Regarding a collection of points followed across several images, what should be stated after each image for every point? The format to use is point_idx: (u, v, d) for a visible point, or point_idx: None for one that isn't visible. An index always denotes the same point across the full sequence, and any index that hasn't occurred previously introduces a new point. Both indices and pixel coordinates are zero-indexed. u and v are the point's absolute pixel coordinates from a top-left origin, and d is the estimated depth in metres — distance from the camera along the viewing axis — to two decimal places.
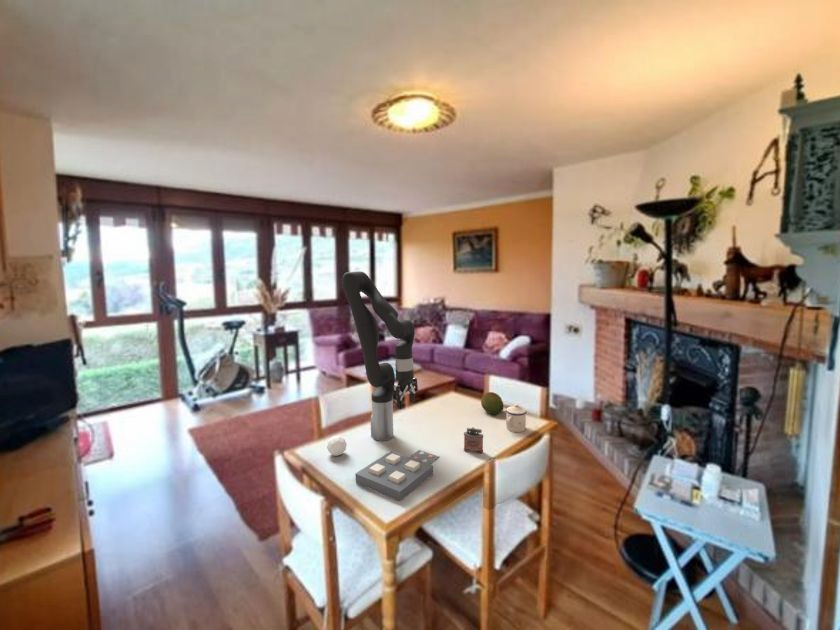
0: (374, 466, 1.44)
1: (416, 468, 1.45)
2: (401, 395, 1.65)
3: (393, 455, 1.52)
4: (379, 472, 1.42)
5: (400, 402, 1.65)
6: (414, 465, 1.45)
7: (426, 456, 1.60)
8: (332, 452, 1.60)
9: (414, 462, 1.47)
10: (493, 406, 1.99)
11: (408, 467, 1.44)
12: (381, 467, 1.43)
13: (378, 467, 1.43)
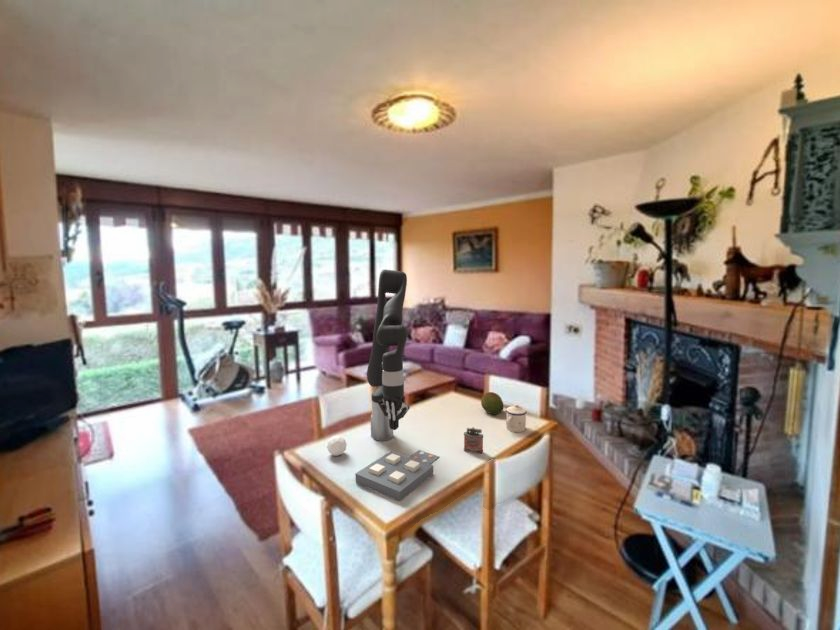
0: (374, 466, 1.44)
1: (416, 468, 1.45)
2: (399, 413, 1.42)
3: (393, 455, 1.52)
4: (379, 472, 1.42)
5: None
6: (414, 465, 1.45)
7: (426, 456, 1.60)
8: (332, 452, 1.60)
9: (414, 462, 1.47)
10: (493, 406, 1.99)
11: (408, 467, 1.44)
12: (381, 467, 1.43)
13: (378, 467, 1.43)
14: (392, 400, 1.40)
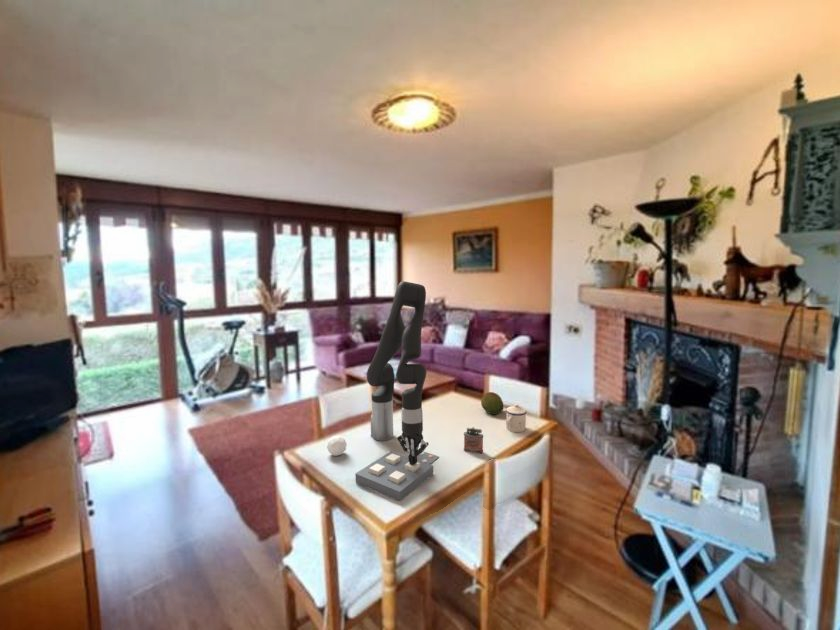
0: (374, 466, 1.44)
1: (416, 468, 1.45)
2: None
3: (393, 455, 1.52)
4: (379, 472, 1.42)
5: (415, 456, 1.45)
6: (414, 465, 1.45)
7: (426, 456, 1.60)
8: (332, 452, 1.60)
9: None
10: (493, 406, 1.99)
11: (408, 467, 1.44)
12: (381, 467, 1.43)
13: (378, 467, 1.43)
14: (411, 436, 1.43)
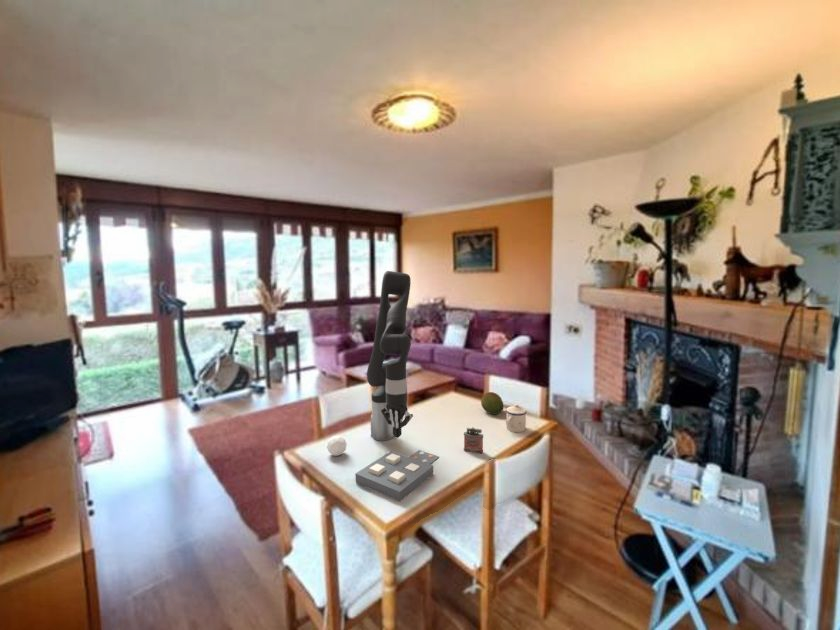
0: (374, 466, 1.44)
1: None
2: None
3: (393, 455, 1.52)
4: (379, 472, 1.42)
5: None
6: (414, 468, 1.45)
7: (426, 456, 1.60)
8: (332, 452, 1.60)
9: (414, 465, 1.47)
10: (493, 406, 1.99)
11: (408, 470, 1.44)
12: (381, 467, 1.43)
13: (378, 467, 1.43)
14: (395, 408, 1.40)
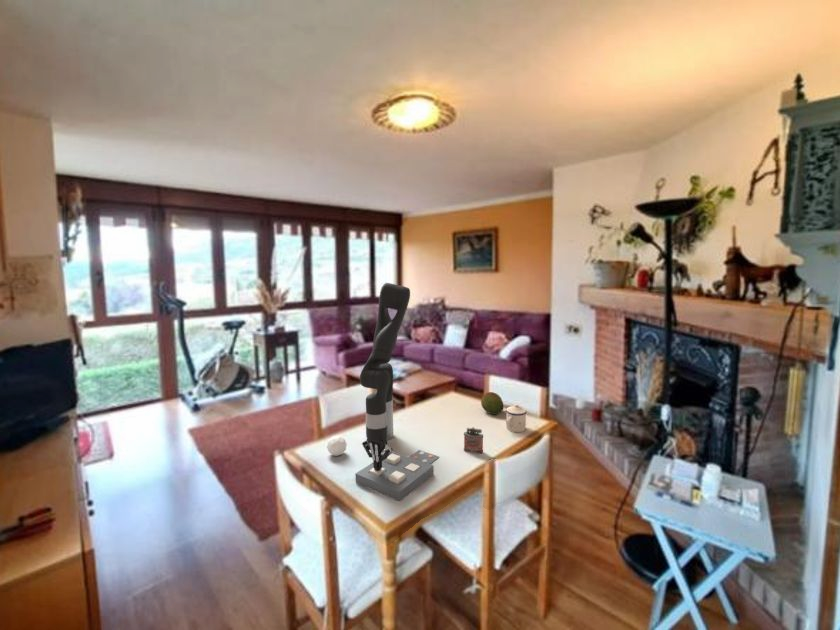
0: None
1: None
2: (382, 454, 1.43)
3: (393, 455, 1.52)
4: (379, 474, 1.42)
5: (380, 461, 1.43)
6: (414, 468, 1.45)
7: (426, 456, 1.60)
8: (332, 452, 1.60)
9: (414, 465, 1.47)
10: (493, 406, 1.99)
11: (408, 470, 1.44)
12: (381, 469, 1.44)
13: None
14: (376, 442, 1.41)
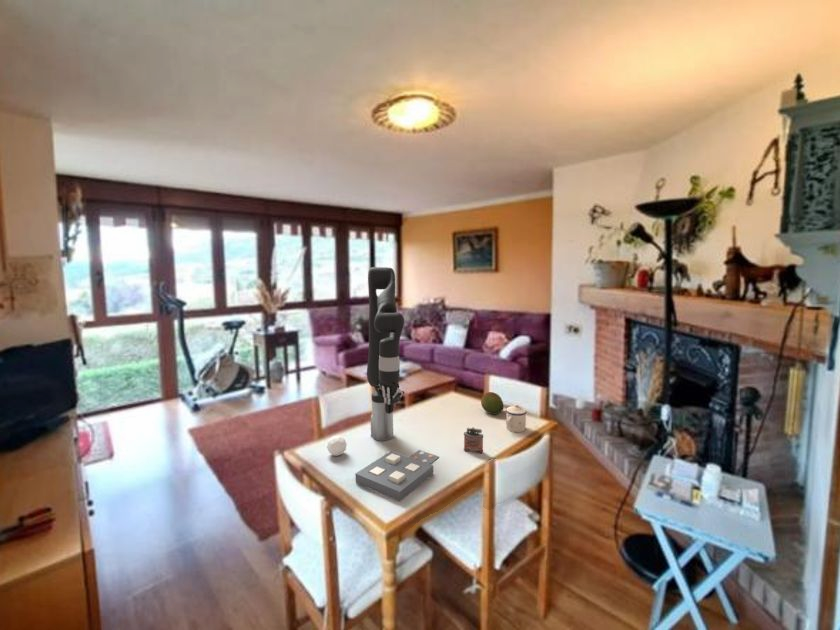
0: (374, 469, 1.44)
1: None
2: (394, 398, 1.47)
3: (393, 455, 1.52)
4: None
5: None
6: (414, 468, 1.45)
7: (426, 456, 1.60)
8: (332, 452, 1.60)
9: (414, 465, 1.47)
10: (493, 406, 1.99)
11: (408, 470, 1.44)
12: (381, 470, 1.44)
13: (378, 470, 1.44)
14: (388, 385, 1.45)
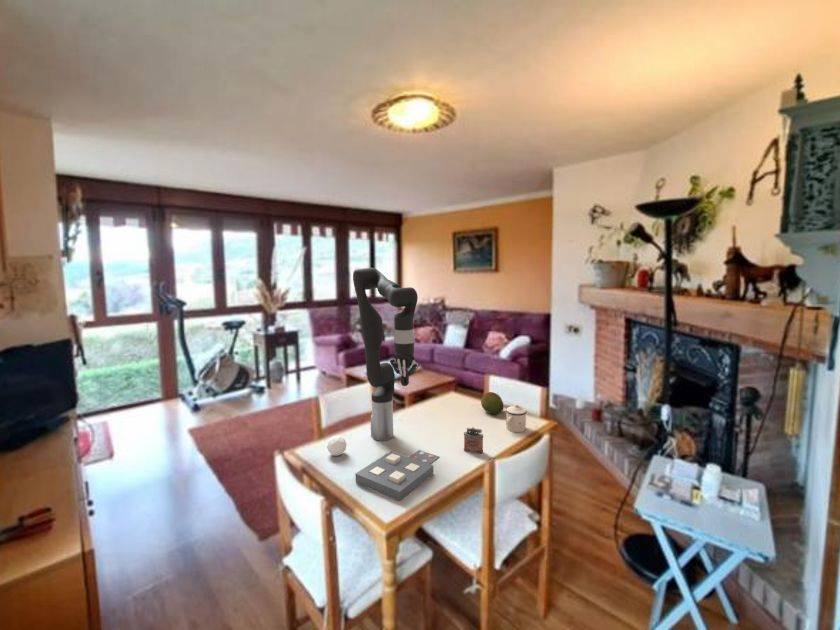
0: (374, 469, 1.44)
1: None
2: None
3: (393, 455, 1.52)
4: None
5: None
6: (414, 468, 1.45)
7: (426, 456, 1.60)
8: (332, 452, 1.60)
9: (414, 465, 1.47)
10: (493, 406, 1.99)
11: (408, 470, 1.44)
12: (381, 470, 1.44)
13: (378, 470, 1.44)
14: (403, 358, 1.50)
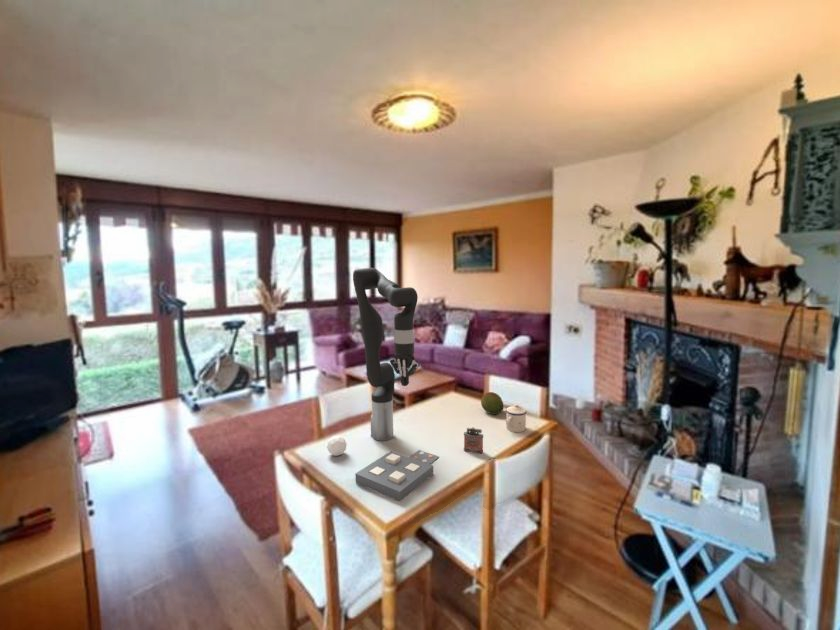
0: (374, 469, 1.44)
1: None
2: None
3: (393, 455, 1.52)
4: None
5: None
6: (414, 468, 1.45)
7: (426, 456, 1.60)
8: (332, 452, 1.60)
9: (414, 465, 1.47)
10: (493, 406, 1.99)
11: (408, 470, 1.44)
12: (381, 470, 1.44)
13: (378, 470, 1.44)
14: (403, 358, 1.50)
